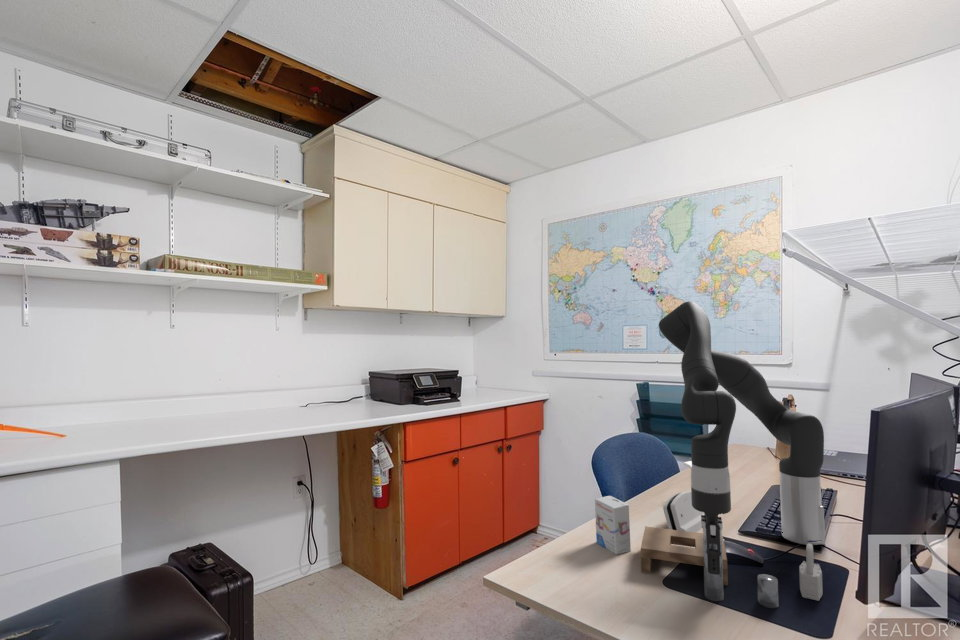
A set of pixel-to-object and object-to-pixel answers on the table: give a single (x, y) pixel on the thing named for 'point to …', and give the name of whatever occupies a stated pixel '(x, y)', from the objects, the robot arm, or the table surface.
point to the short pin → (768, 591)
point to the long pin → (713, 577)
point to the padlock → (810, 576)
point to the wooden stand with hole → (675, 548)
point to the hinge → (682, 513)
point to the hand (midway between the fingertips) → (712, 564)
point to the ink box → (612, 524)
